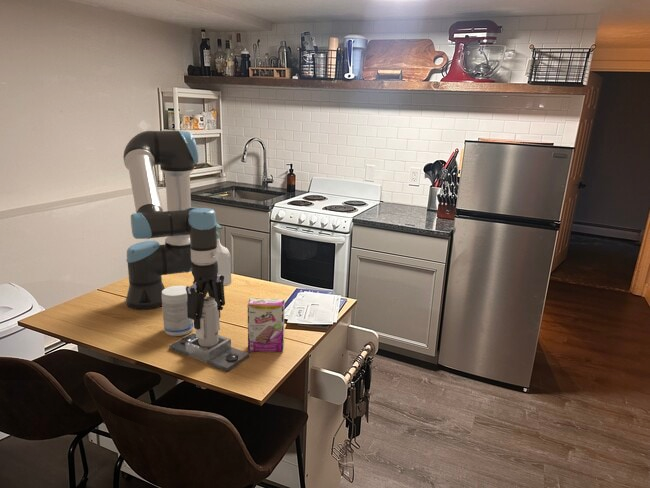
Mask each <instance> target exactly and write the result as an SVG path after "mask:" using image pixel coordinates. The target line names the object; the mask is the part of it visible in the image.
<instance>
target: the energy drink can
mask: <svg viewBox="0 0 650 488" xmlns="http://www.w3.org/2000/svg"><path fill="white" fill-rule="evenodd" d="M201 318H203V322H204V339H200V338H198V342H199V345H201V347H202V348H205V349H208V350H209V349H211V348H213V347H215V346H216V345H217V343H218V342H219V337H218V335H219V331H218V314H217V303H216V301H215V298H213V297H209V296H206V297H205V298H204V304H203V309H202V315H201Z"/></svg>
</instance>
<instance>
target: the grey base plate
mask: <svg viewBox="0 0 650 488" xmlns="http://www.w3.org/2000/svg"><path fill="white" fill-rule="evenodd" d="M218 337H219V342H218V343H217V345H216V346H215V347H213V348H209V349H206V348H202V347H201V345H199V342H198V337H196V333H193V332H192V333H189V335H188V334H187V336H184V337H182V338H181V339H178V340H177V341H175V342H173V343H171V344H170V345H168V349H169V350H171V351H173V352H176V353H178V354H180V355H183V356H186V357H189V358H192V359H195V360H197V361H200V362H201V363H205V364H207V365H208V366H211V367H214V368H217V369H220V370H222V371H225V372H229V371H231V370H232V369H234V368H235V367H237V366H238V365H240V364H241V363H243V362H245V360H247V359H249V358H250V352H246V351H243V350H241V349H238V348H235V347H232V339H231V338H228V337H225V336H223V335H220V334H218Z"/></svg>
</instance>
